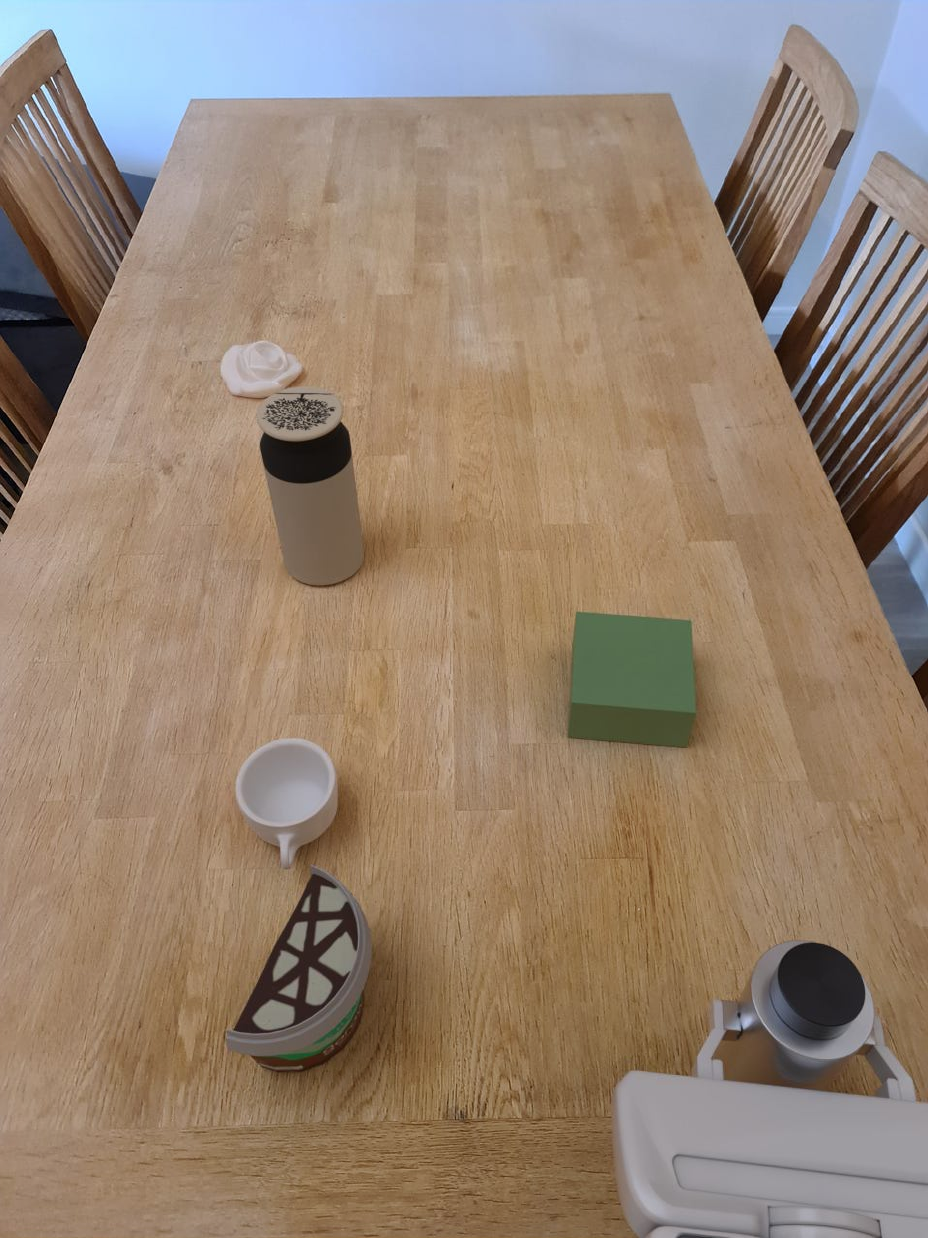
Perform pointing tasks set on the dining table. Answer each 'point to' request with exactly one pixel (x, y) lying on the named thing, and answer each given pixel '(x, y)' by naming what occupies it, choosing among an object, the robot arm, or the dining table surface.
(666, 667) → the green block
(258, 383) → the rose
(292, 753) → the teacup
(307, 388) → the travel mug
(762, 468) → the dining table surface
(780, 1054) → the flask
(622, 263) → the dining table surface
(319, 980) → the food container
